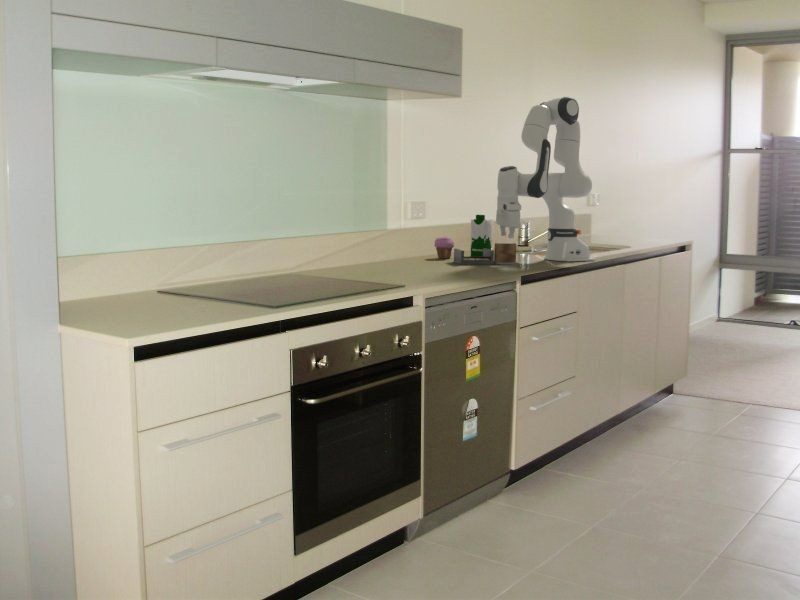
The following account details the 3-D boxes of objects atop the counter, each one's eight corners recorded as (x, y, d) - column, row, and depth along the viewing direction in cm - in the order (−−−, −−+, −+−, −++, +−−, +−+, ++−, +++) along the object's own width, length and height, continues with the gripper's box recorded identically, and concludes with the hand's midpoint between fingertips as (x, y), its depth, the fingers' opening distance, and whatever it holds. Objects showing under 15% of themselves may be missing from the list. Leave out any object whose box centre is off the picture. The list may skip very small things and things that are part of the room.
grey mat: (512, 262, 386) (512, 260, 386) (519, 264, 377) (519, 262, 377) (490, 262, 384) (490, 260, 384) (497, 264, 375) (497, 263, 375)
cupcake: (447, 259, 392) (447, 237, 391) (430, 258, 397) (430, 236, 395) (457, 258, 399) (457, 236, 398) (440, 257, 404) (441, 235, 403)
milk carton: (468, 259, 395) (469, 214, 392) (475, 257, 403) (476, 214, 400) (486, 260, 391) (487, 215, 388) (493, 259, 399) (495, 214, 396)
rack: (485, 262, 385) (485, 248, 384) (493, 264, 374) (494, 250, 373) (453, 262, 382) (454, 248, 381) (461, 265, 371) (461, 250, 370)
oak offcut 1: (473, 264, 376) (474, 258, 376) (474, 265, 373) (474, 259, 373) (462, 264, 376) (462, 258, 376) (462, 265, 373) (463, 259, 373)
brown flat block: (513, 261, 383) (514, 243, 381) (515, 262, 380) (516, 243, 379) (494, 261, 381) (494, 243, 380) (495, 262, 378) (496, 243, 377)
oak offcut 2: (486, 264, 378) (486, 258, 377) (488, 265, 375) (489, 259, 374) (475, 264, 377) (475, 258, 376) (477, 265, 374) (477, 259, 373)
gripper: (492, 203, 386) (492, 234, 389) (508, 206, 366) (508, 239, 369) (506, 202, 387) (506, 234, 390) (522, 206, 368) (522, 239, 370)
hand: (507, 237), depth 379 cm, fingers open, 8 cm apart
